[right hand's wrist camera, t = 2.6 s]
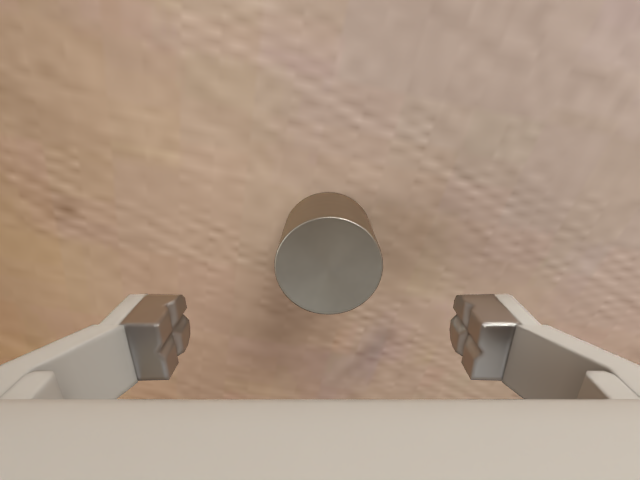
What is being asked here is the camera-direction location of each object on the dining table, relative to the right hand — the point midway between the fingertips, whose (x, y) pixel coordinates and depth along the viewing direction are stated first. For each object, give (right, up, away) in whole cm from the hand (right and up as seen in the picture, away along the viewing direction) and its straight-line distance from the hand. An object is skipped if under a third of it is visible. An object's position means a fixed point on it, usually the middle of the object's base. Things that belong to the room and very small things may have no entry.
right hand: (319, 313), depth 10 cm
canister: (0, +3, +8) cm, 9 cm away
